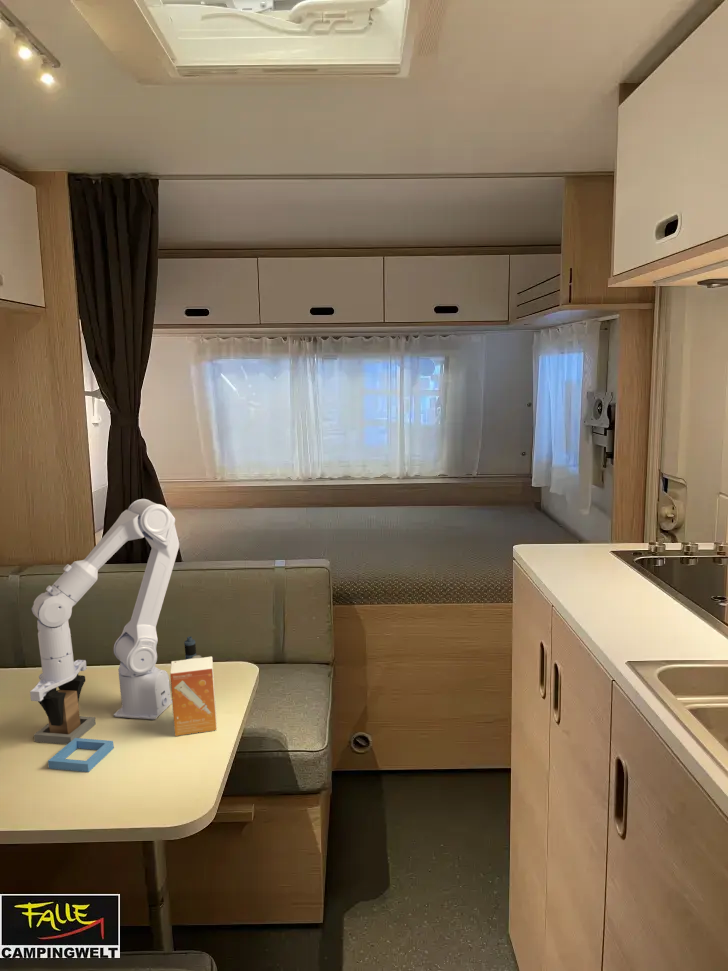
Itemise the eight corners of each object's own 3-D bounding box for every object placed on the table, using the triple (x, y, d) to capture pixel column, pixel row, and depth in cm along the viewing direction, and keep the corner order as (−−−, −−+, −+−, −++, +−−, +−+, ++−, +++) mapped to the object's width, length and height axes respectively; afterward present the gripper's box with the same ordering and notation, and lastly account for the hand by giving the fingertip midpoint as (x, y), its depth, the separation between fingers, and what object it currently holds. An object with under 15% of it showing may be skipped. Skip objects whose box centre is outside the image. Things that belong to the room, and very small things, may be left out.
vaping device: (195, 685, 157) (191, 634, 155) (208, 691, 153) (204, 639, 151) (185, 688, 155) (181, 637, 153) (198, 696, 151) (193, 643, 149)
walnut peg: (80, 728, 139) (76, 690, 138) (68, 738, 135) (64, 700, 134) (63, 727, 140) (58, 689, 138) (50, 737, 136) (45, 698, 135)
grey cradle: (95, 724, 140) (95, 717, 140) (71, 744, 133) (70, 737, 132) (60, 721, 142) (59, 714, 142) (34, 741, 134) (33, 734, 134)
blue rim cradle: (113, 748, 131) (113, 740, 131) (88, 772, 123) (87, 764, 123) (76, 745, 132) (75, 737, 132) (48, 768, 125) (47, 760, 125)
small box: (174, 737, 134) (169, 673, 132) (176, 721, 140) (170, 660, 138) (217, 731, 136) (212, 667, 134) (217, 715, 142) (212, 655, 140)
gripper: (61, 638, 143) (69, 700, 145) (12, 668, 129) (21, 736, 131) (92, 640, 141) (99, 702, 143) (46, 669, 127) (54, 738, 129)
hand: (64, 718), depth 137 cm, fingers closed on walnut peg, 4 cm apart
